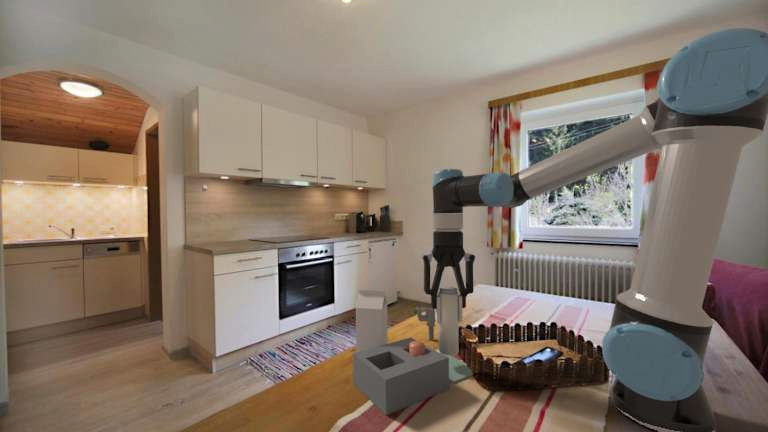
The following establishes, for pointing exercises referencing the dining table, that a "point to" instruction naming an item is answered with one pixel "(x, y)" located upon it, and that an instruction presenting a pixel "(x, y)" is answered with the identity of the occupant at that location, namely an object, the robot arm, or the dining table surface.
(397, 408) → the housing
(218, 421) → the dining table surface
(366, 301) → the milk carton
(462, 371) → the mat
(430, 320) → the mechanical component
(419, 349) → the pink egg shape
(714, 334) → the dining table surface
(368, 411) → the dining table surface
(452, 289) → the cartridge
